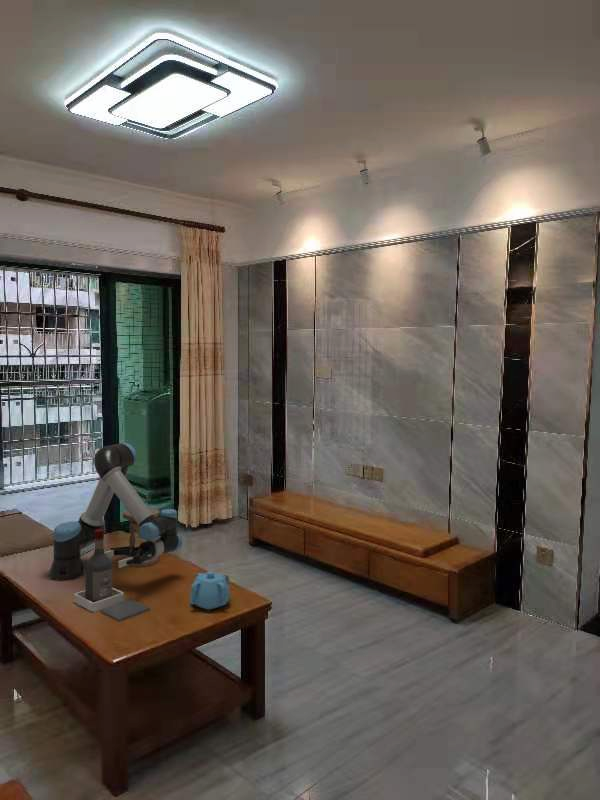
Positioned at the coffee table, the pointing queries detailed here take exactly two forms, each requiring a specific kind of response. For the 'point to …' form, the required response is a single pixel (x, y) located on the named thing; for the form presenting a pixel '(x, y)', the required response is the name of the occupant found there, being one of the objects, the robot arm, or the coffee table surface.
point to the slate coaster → (125, 610)
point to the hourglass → (136, 527)
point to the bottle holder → (80, 600)
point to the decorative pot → (210, 590)
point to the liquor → (99, 572)
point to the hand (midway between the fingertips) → (109, 560)
